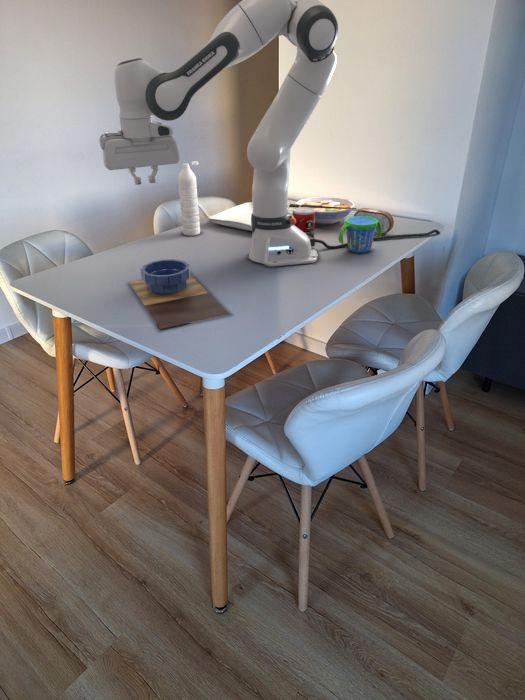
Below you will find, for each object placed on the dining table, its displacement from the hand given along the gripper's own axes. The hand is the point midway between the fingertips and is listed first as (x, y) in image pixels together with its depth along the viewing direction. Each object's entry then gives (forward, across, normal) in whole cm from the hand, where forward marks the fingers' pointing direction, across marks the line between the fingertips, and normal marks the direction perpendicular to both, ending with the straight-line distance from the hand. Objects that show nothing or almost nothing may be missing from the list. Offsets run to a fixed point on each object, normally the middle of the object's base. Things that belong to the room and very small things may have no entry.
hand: (145, 183), depth 142 cm
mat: (+27, 0, -28) cm, 39 cm away
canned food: (+27, +55, +8) cm, 62 cm away
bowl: (+27, 0, -12) cm, 29 cm away
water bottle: (+27, +24, +36) cm, 51 cm away
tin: (+27, +82, +4) cm, 87 cm away
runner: (+27, 0, -12) cm, 29 cm away
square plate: (+27, +50, +37) cm, 68 cm away
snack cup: (+27, +67, -10) cm, 73 cm away
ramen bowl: (+27, +74, +23) cm, 82 cm away
